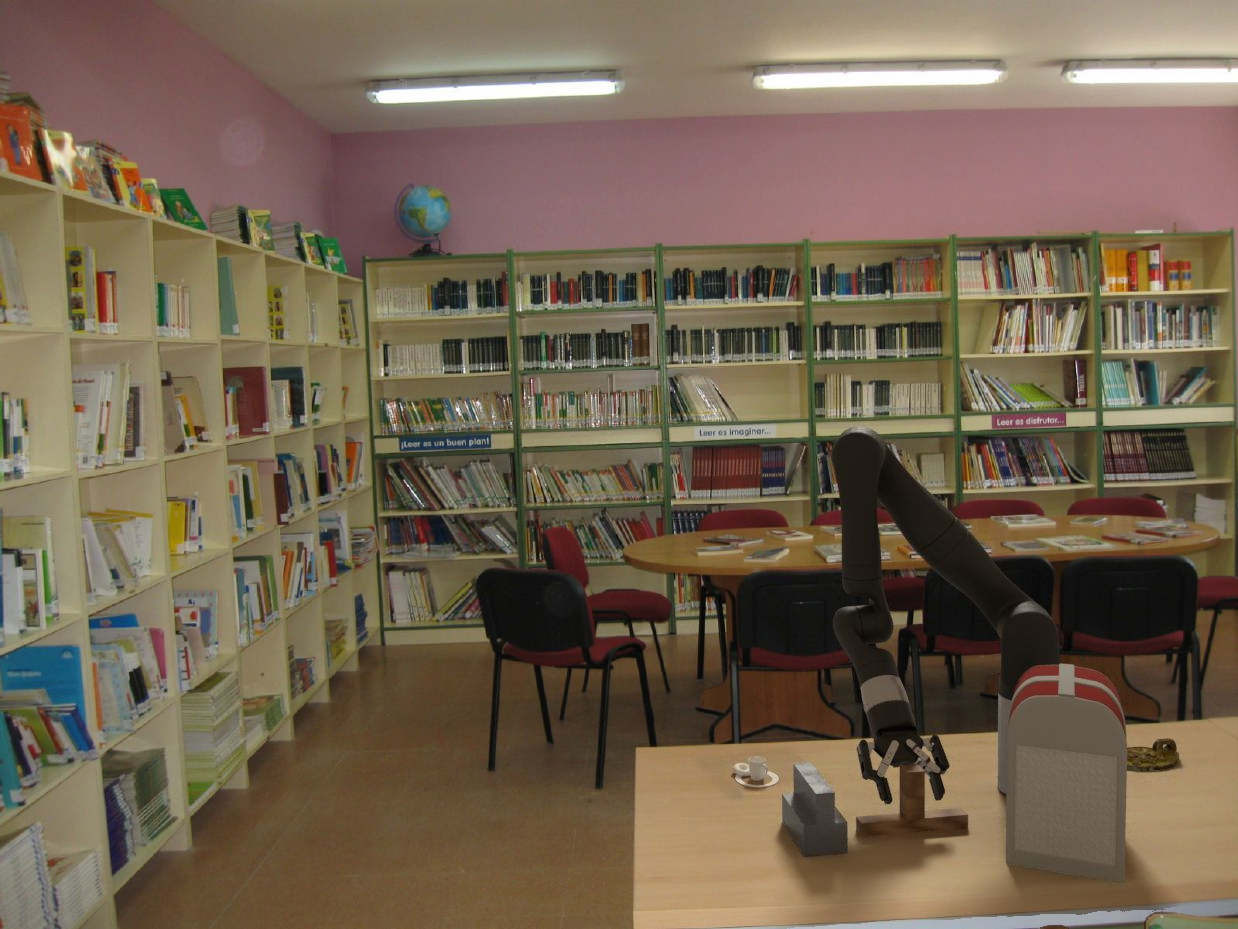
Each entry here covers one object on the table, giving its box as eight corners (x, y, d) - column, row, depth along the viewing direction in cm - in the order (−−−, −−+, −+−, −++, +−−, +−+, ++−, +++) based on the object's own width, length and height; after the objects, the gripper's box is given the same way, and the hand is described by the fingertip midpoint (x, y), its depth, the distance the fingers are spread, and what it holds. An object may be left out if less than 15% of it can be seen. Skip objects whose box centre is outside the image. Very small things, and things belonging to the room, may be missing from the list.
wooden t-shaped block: (960, 821, 166) (960, 760, 165) (968, 830, 163) (969, 767, 162) (855, 830, 164) (855, 768, 163) (862, 839, 161) (861, 776, 160)
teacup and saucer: (727, 773, 188) (727, 752, 188) (766, 768, 190) (766, 747, 190) (744, 792, 180) (744, 770, 180) (785, 786, 182) (785, 765, 182)
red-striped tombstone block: (1003, 863, 151) (1005, 690, 149) (1010, 815, 167) (1011, 657, 165) (1126, 884, 144) (1130, 702, 142) (1120, 831, 160) (1124, 667, 158)
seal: (1119, 781, 182) (1193, 773, 185) (1121, 757, 182) (1196, 749, 184) (1088, 756, 192) (1159, 749, 194) (1090, 733, 191) (1162, 726, 193)
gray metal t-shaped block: (782, 822, 167) (781, 764, 166) (823, 819, 168) (822, 761, 167) (804, 857, 155) (803, 794, 154) (847, 853, 156) (847, 791, 155)
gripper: (852, 701, 168) (878, 795, 158) (933, 695, 170) (964, 788, 159) (842, 720, 174) (866, 813, 164) (920, 715, 175) (949, 806, 165)
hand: (914, 800), depth 162 cm, fingers open, 8 cm apart
